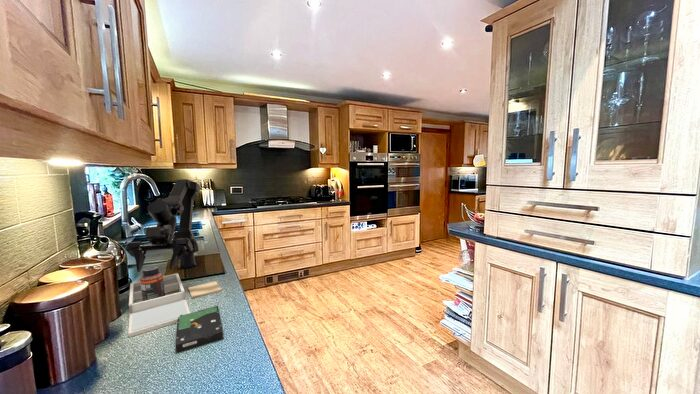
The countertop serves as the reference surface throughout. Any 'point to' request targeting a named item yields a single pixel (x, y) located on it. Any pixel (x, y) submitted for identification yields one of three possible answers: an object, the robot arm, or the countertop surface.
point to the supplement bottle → (152, 283)
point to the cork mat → (204, 289)
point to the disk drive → (198, 329)
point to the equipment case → (156, 307)
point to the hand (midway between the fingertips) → (154, 270)
